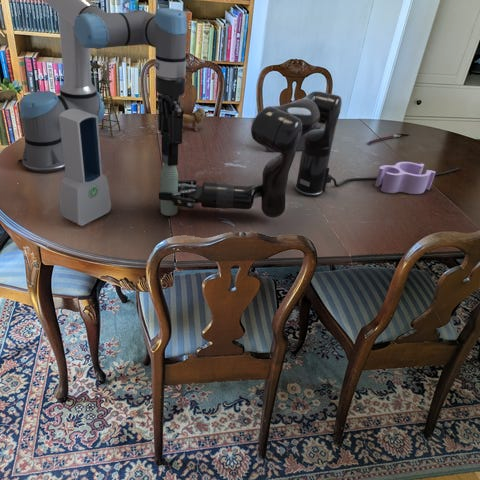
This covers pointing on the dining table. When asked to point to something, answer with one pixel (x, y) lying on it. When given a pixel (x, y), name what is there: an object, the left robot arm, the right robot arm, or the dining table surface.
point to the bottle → (169, 188)
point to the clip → (404, 178)
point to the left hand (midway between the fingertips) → (169, 161)
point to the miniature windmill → (105, 81)
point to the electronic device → (82, 168)
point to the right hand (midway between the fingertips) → (160, 191)
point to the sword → (386, 138)
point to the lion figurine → (194, 118)
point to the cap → (165, 157)
